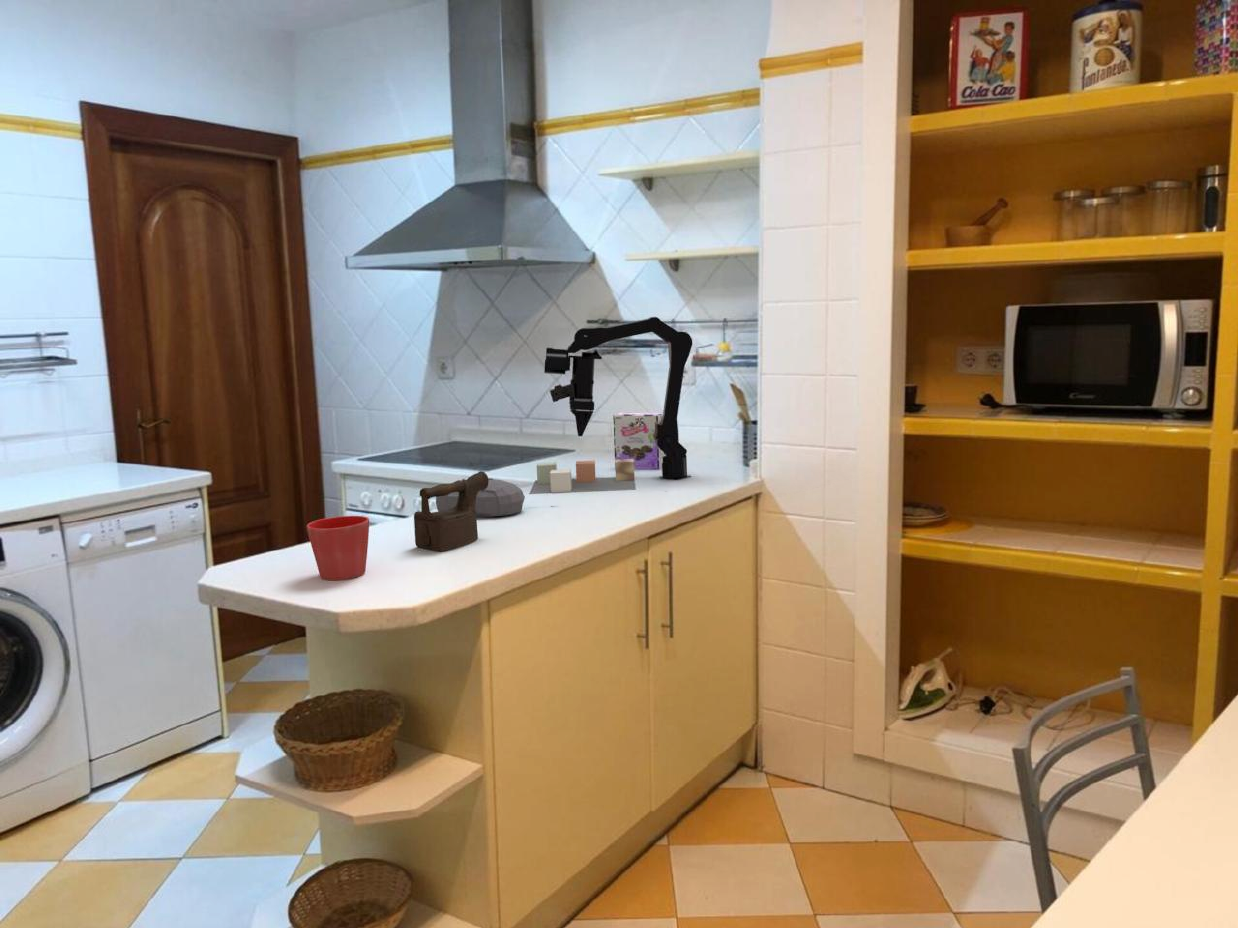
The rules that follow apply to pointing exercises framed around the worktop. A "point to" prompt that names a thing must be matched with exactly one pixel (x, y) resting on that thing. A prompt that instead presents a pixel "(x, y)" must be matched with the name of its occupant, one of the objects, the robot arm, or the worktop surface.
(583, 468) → the terracotta block
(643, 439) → the candy box
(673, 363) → the robot arm
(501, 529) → the worktop surface
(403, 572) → the worktop surface
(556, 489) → the taupe block
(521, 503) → the soft grey pack
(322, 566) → the flower pot
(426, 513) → the clothes iron
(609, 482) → the slate mat
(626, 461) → the beech block
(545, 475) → the sage block
